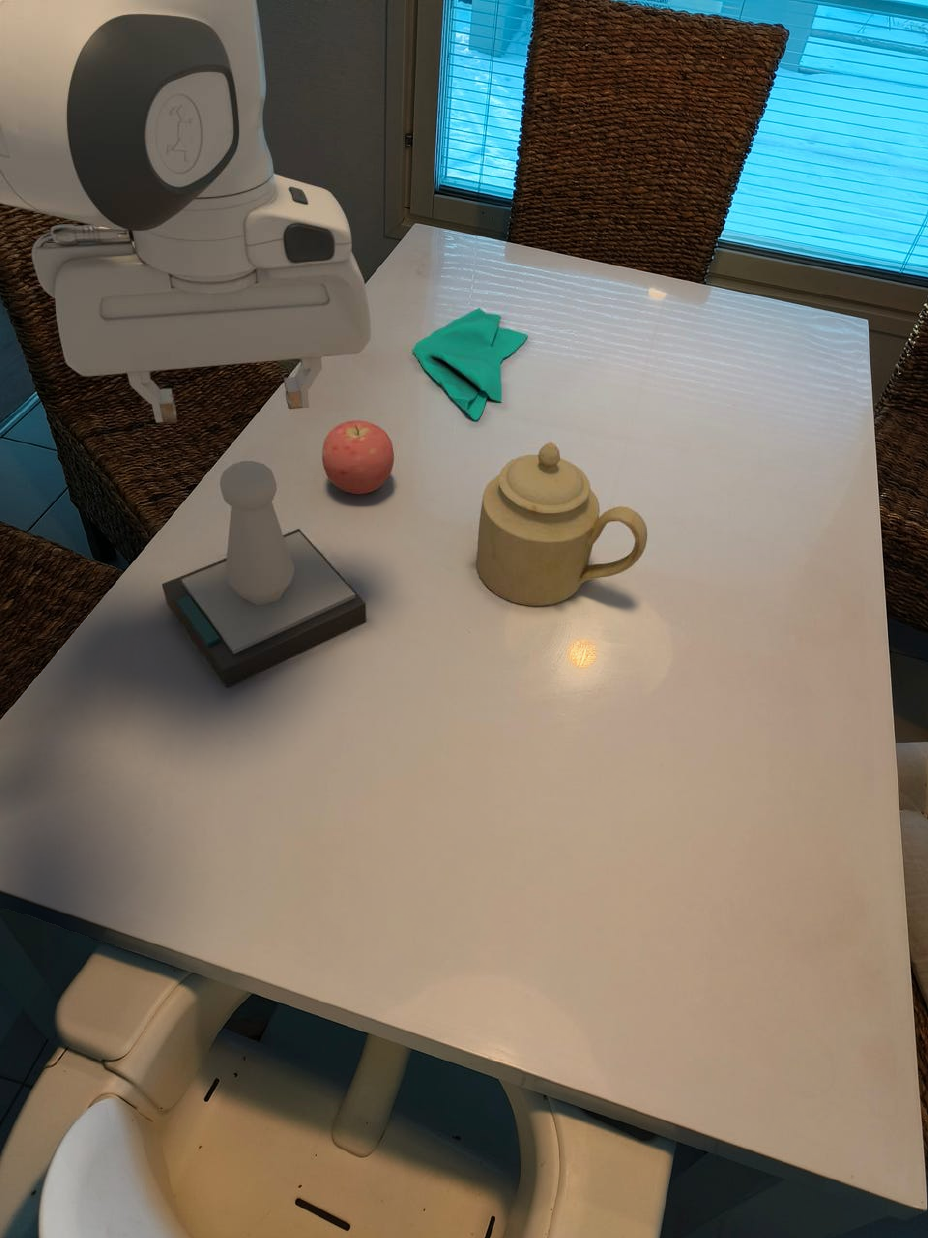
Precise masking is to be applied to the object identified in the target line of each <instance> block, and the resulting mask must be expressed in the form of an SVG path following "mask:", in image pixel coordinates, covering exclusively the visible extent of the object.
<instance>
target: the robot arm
mask: <svg viewBox="0 0 928 1238" xmlns="http://www.w3.org/2000/svg"><path fill="white" fill-rule="evenodd" d="M263 47H264V46H263V40H262V32H261V23H260V17H259V10H258V3H257V0H0V204H2V205H6V206H9V207H13V208H18V209H22V210H26V211H31V212H34V213H39V214H42V215H43V214H44V215H47V216H53V217H58V218H62V219H65V220H70V221H74V222H78V223H82V224H84V225H75V224H71V223H70V224H69V223H67V224H66V223H65V224H58V225H54V226H51V227H50V232H47V233H45V234H42V235H40V237H38V238H37V239H36V240H35V242H34V243H33V246H32V248H31V260H32V264H33V267H34V270H35V273H36V278H37V279H38V283H39V284H40V286H41V288H42V289H43V290H44V292H46V293H47V294H48V295H49V296H50V297H52V298H53V299H55V311H56V312H55V313H56V322H57V329H58V335H59V340H60V344H61V349H62V354H63V357H64V361H65V364H66V366H68V367H69V368H71V369H72V370H73V371H74V372H76V373H77V374H79V376H82V377H98V376H100V377H101V376H110V375H121V374H127V379H128V382H129V386H130V387H131V388H132V389H133V390H135V392H137V393H138V395H140V397H142V398H143V399H144V400H145V402H147V403H148V404H150V405H151V407H152V408H151V409H152V411H153V416H154V420H155V423H156V424H159V423H169V422H176V421H178V416H177V408H176V403H175V400H174V393H173V390H172V389H173V388H159V386H158V385H157V383H155V382H154V381H153V380H152V379H151V372H158V371H169V370H180V369H192V368H193V369H194V368H204V367H217V366H227V365H229V366H230V365H240V364H250V363H261V362H262V363H263V362H265V363H266V362H275V361H287V360H299V361H300V365H299V367H298V369H297V371H296V373H295V375H294V376H292V377H284V379H283V380H284V388H285V399H286V404H287V408H288V410H295V409H296V410H297V409H298V410H299V409H307V408H309V407H310V403H309V402H310V401H309V390H310V389H311V387H312V385H313V383H314V382H315V381H316V380H317V379H316V378H317V377H318V376H319V374H320V372H321V371H322V369H323V367H322V358H323V357H333V356H344V355H346V356H347V355H356V354H357V355H358V354H360V353H362V352H363V350H365V348H366V347H367V346H368V344H369V343H370V342H371V339H372V326H371V314H370V313H371V312H370V307H369V299H368V294H367V288H366V284H365V283H366V282H365V280H364V277H363V275H362V272H361V269H360V267H359V265H358V262H357V260H356V258H355V255H354V253H353V252H352V246H353V244H352V243H353V240H352V233H351V228H350V227H351V226H350V224H349V221H348V218H347V216H346V213H345V212H344V210H343V207H342V206H341V205H340V203H339V202H338V200H337V198H335V196H334V194H332V192H330V191H329V190H327V189H325V188H323V187H320V186H316V185H313V184H309V183H306V182H302V181H299V180H296V179H292V178H289V177H285V176H282V175H279V174H276V173H275V171H274V162H273V158H272V155H271V152H270V148H269V147H268V143H267V140H266V138H265V132H264V124H263V123H264V122H263V114H264V113H263V112H264V111H263V110H264V104H265V100H266V96H267V95H266V93H267V81H266V71H265V69H266V67H265V58H264V50H263V49H264V48H263ZM50 241H53V242H50Z"/></svg>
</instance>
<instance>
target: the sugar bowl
mask: <svg viewBox="0 0 928 1238" xmlns="http://www.w3.org/2000/svg"><path fill="white" fill-rule="evenodd" d="M600 511H601V509H600V502H599V500H598V497H597V496H596V494H595V492H594V491H593V490H592V489H591V485H590V480H589V479H588V477H587V475H586V473H584V471H583V469H581V468H580V467H578V466H577V465H576V464H574V463H572V462H570V461H568V460H566V459H563V458H561V454H560V449H559V448H558V446H557V445H556V443H554V442H552V441H551V442H550V441H549V442H547V443H545V444H544V445H543V446H541V447H540V449H539V452H538V454H526V455H521V456H519V457H517V458H514V459H511V460H509V461H508V462H507V463H506V464H505V465H504V466H503V467H502V468H501V470H500V471H499V474H498V475H496V476H495V477H493V478H492V479H491V480H490V481H489V482H488V484H487V485H486V487H485V489H484V491H483V494H482V501H481V508H480V515H479V523H478V533H477V535H478V536H477V548H476V549H477V550H476V560H475V561H476V563H475V564H476V570H477V573H478V575H479V577H480V580H481V581H482V582H483V583H484V585H485V586H486V587H487V588H488V589H489V590H490V591H492V592H493V593H494V594H496V596H499V597H501V598H502V599H505V600H506V601H507V600H508V602H509V601H510V602H512V603H516V604H520V605H525V606H531V607H532V606H533V607H539V606H542V607H543V606H549V605H554V604H558V603H561V602H563V601H565V600H567V599H569V598H570V597H572V596H573V595H575V594H576V593H577V592H578V590H579V589H580V588H581V586H582V585H583V583H585V582H586V581H590V580H595V579H602V578H608V577H613V576H615V575H619V574H621V573H623V572H625V571H627V570H628V569H630V568H632V566H635V564H636V563H637V562H638V561H639V560H640V558H641V557H642V555H643V553H644V551H645V549H646V546H647V541H648V528H647V525H646V523H645V521H644V519H643V517H642V516H641V515H640V514H639V513H638V512H637V511H636V510H634V509H633V508H630V507H628V506H621V505H619V506H614V507H612V508H609V509H608V510H607V511H605V512H603V513H602V514H601V515H600ZM611 522H618V523H619V522H620V523H622V524H623V525H625V526H626V527H627V528H628V529H630V531H631V533H632V536H633V537H634V546H633V548H632V550H631V552H630V553H628V555H626V556H624V557H623V558H620V559H618V560H615V561H611V562H605V563H593V564H589V562H590V558H591V554H592V550H593V546H594V544H595V543H596V542H597V541H598V539H599V538H600V536H601V535H602V532H603V531H604V529H605V528H606V526H607V524H608V523H611Z"/></svg>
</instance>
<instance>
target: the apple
mask: <svg viewBox="0 0 928 1238" xmlns="http://www.w3.org/2000/svg"><path fill="white" fill-rule="evenodd" d="M321 455H322V456H321V460H322V466H323V469H324V472H325V474H326V477H327V478H328V479H329V481H330V482H331V483H333V484H334V486H336V487H337V488H338V489H340V490H342V491H344V492H346V493H349V494H353V495H365V494H369V493H371V492H374V491H376V490H377V489H379V488H380V487H381V486H382V485H384V484H385V483H386V481H387V480H388V478H389V477H390V475H391V473H392V470H393V467H394V462H395V453H394V445H393V442H392V440H391V438H390V436H389V434H388V433H387V432H386V431H385V430H384V429H383V428H382V427H380V426H379V425H376V423H375V424H374V423H373V422H369V421H366V420H357V419H356V420H348V421H345V422H342V423H340V424H338V425H336V426H334V427H333V428H332V429H331V430H330V431H329V432H328V433H327V435H326V437H325V438H324V440H323V444H322V449H321Z"/></svg>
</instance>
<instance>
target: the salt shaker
mask: <svg viewBox="0 0 928 1238" xmlns="http://www.w3.org/2000/svg"><path fill="white" fill-rule="evenodd" d="M277 486H278V485H277V480H276V479H275V476H274V473H273V471H272V469H271V468H269V467H268V466H267V465H265V464H264V463H261V462H258V461H254V460H242V461H238V462H236V463H233V464H231V465H230V466H229V467H227V468H226V469H225V470H224V471H223V472H222V474H221V476H220V479H219V487H220V490H221V494H222V498H223V500H224V502H225V503H226V504H227V505H229V506H231V508H230V517H229V528H228V529H229V530H228V539H227V541H228V542H227V551H226V558H227V561H226V575H227V579H228V582H229V584H230V586H231V587H232V588H233V589H234V590H235V591H236V592H237V593H238V594H239V596H240V597H241V598H243V599H245V600H247V601H249V602H251V603H253V604H255V605H257V606H259V605H263V604H268V603H272V602H277V601H279V599H280V597H281V596H282V594H283V593H284V591H285V590H286V588H287V587H288V585H289V584H290V582H291V579H292V576H293V573H294V566H293V563H292V560H291V557H290V554H289V551H288V548H287V545H286V542H285V539H284V536H283V535H284V534H283V530H282V528H281V524H280V522H279V519H278V516H277V513H276V510H275V506H274V505H273V501H274V499H275V496H276V493H277V491H278V490H277Z"/></svg>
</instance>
